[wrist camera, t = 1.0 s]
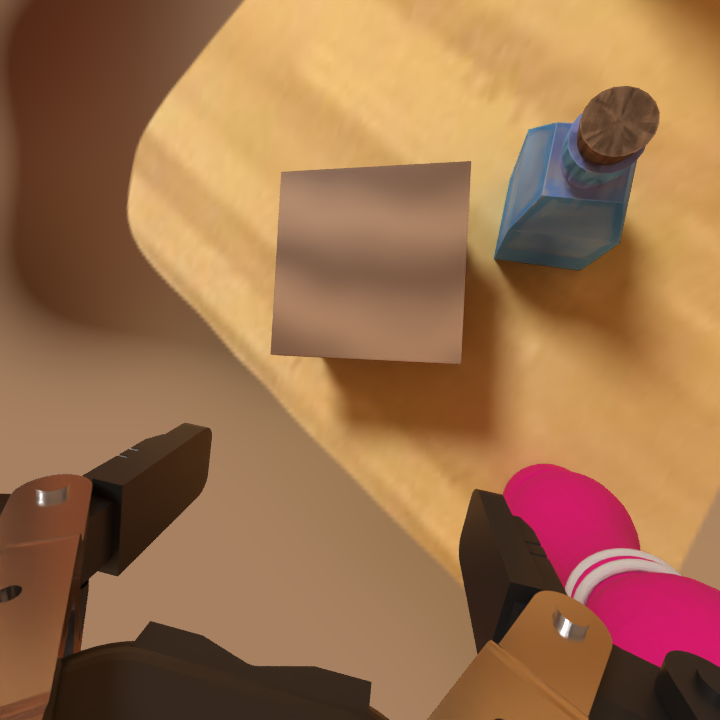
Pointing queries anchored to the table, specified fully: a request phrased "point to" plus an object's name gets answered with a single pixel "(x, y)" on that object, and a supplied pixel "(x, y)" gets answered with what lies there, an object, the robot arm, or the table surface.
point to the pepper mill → (614, 566)
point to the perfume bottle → (576, 182)
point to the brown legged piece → (372, 263)
